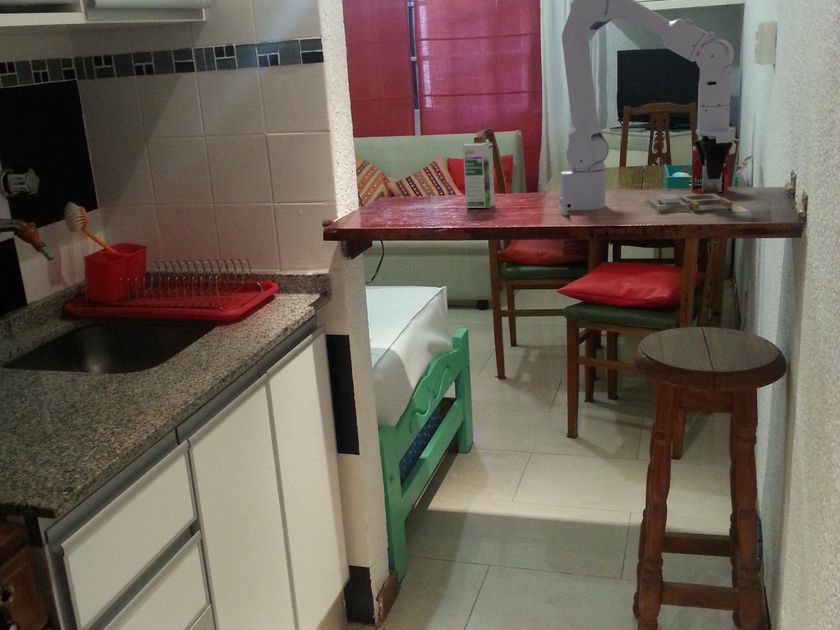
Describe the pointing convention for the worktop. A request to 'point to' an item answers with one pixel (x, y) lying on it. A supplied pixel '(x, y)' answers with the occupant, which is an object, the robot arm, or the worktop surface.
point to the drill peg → (710, 182)
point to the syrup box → (478, 175)
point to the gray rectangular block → (668, 199)
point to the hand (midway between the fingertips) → (711, 177)
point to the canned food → (697, 174)
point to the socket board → (696, 205)
